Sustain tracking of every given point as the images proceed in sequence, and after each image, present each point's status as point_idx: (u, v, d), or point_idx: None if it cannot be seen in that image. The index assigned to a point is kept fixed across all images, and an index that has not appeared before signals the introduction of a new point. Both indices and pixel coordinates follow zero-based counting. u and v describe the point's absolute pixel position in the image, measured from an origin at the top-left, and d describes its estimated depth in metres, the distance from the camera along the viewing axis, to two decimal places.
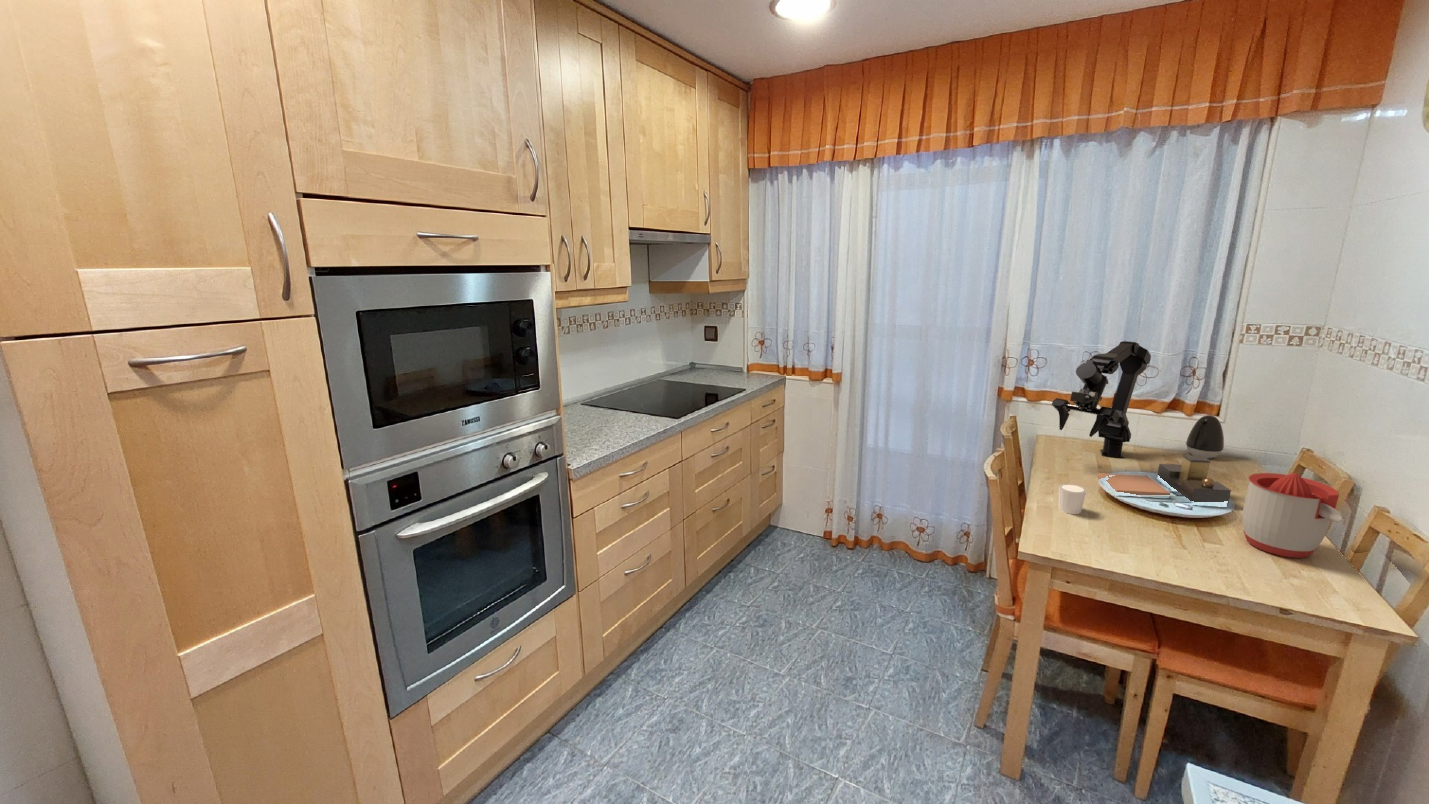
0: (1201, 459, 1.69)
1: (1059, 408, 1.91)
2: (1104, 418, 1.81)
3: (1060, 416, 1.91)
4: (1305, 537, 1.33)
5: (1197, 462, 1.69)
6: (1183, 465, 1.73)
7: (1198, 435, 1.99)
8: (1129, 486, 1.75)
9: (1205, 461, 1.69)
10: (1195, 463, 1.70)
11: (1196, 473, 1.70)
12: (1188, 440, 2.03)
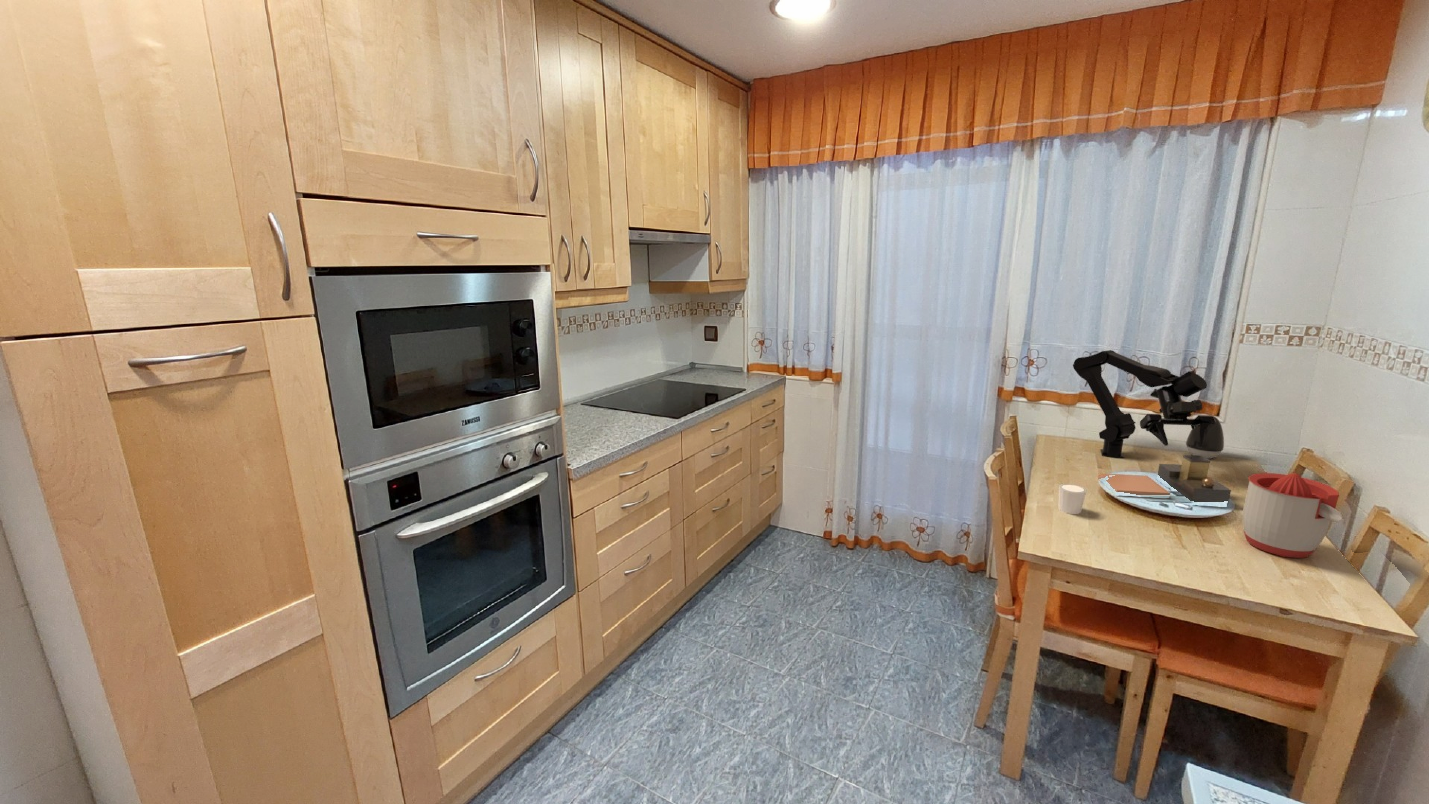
0: (1201, 459, 1.69)
1: (1159, 423, 1.80)
2: None
3: (1161, 431, 1.80)
4: (1305, 537, 1.33)
5: (1197, 462, 1.69)
6: (1183, 465, 1.73)
7: None
8: (1129, 486, 1.75)
9: (1205, 461, 1.69)
10: (1195, 463, 1.70)
11: (1196, 473, 1.70)
12: (1188, 440, 2.03)
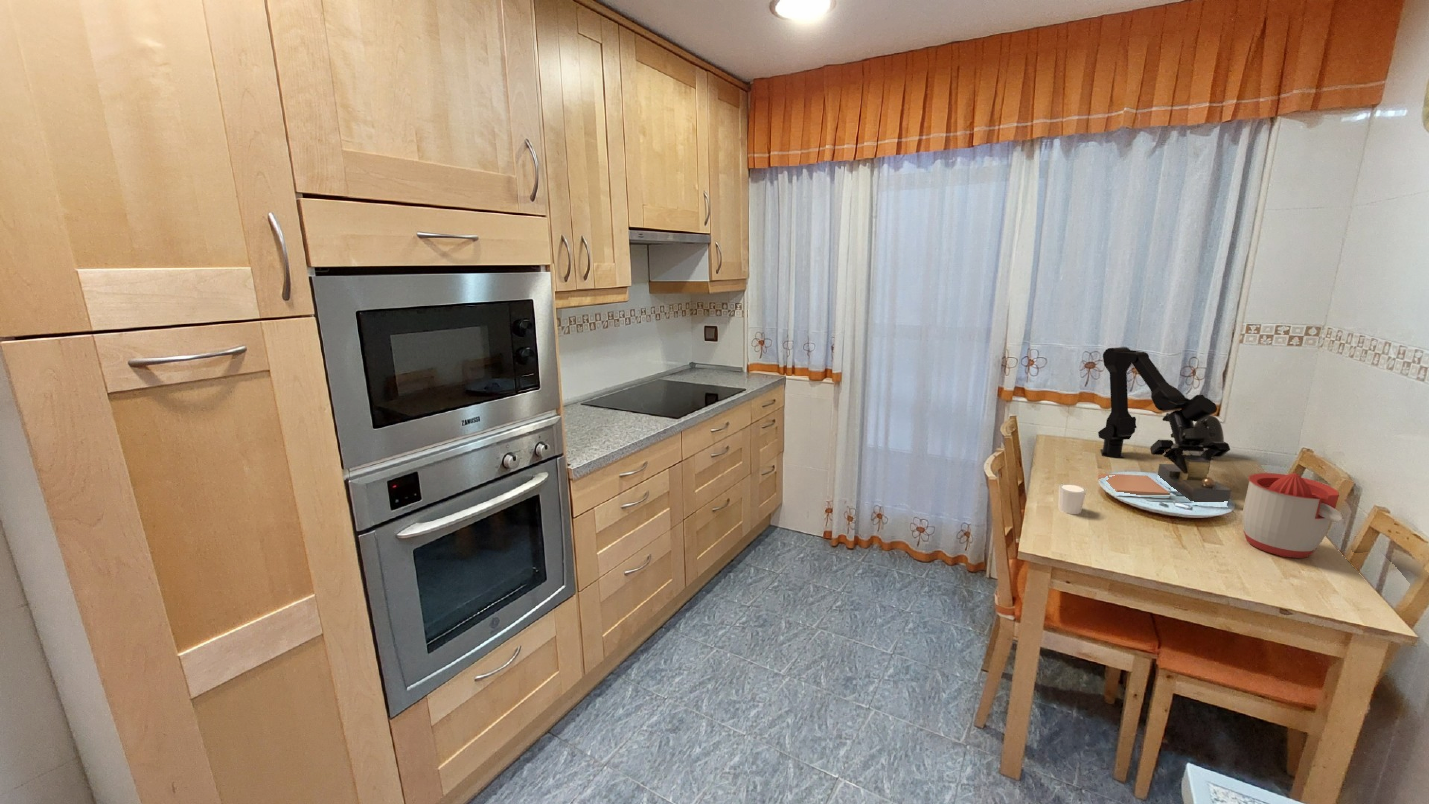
0: (1201, 459, 1.69)
1: (1178, 449, 1.73)
2: None
3: (1180, 458, 1.73)
4: (1305, 537, 1.33)
5: (1197, 462, 1.69)
6: None
7: None
8: (1129, 486, 1.75)
9: (1205, 461, 1.69)
10: (1195, 463, 1.70)
11: (1196, 473, 1.70)
12: None
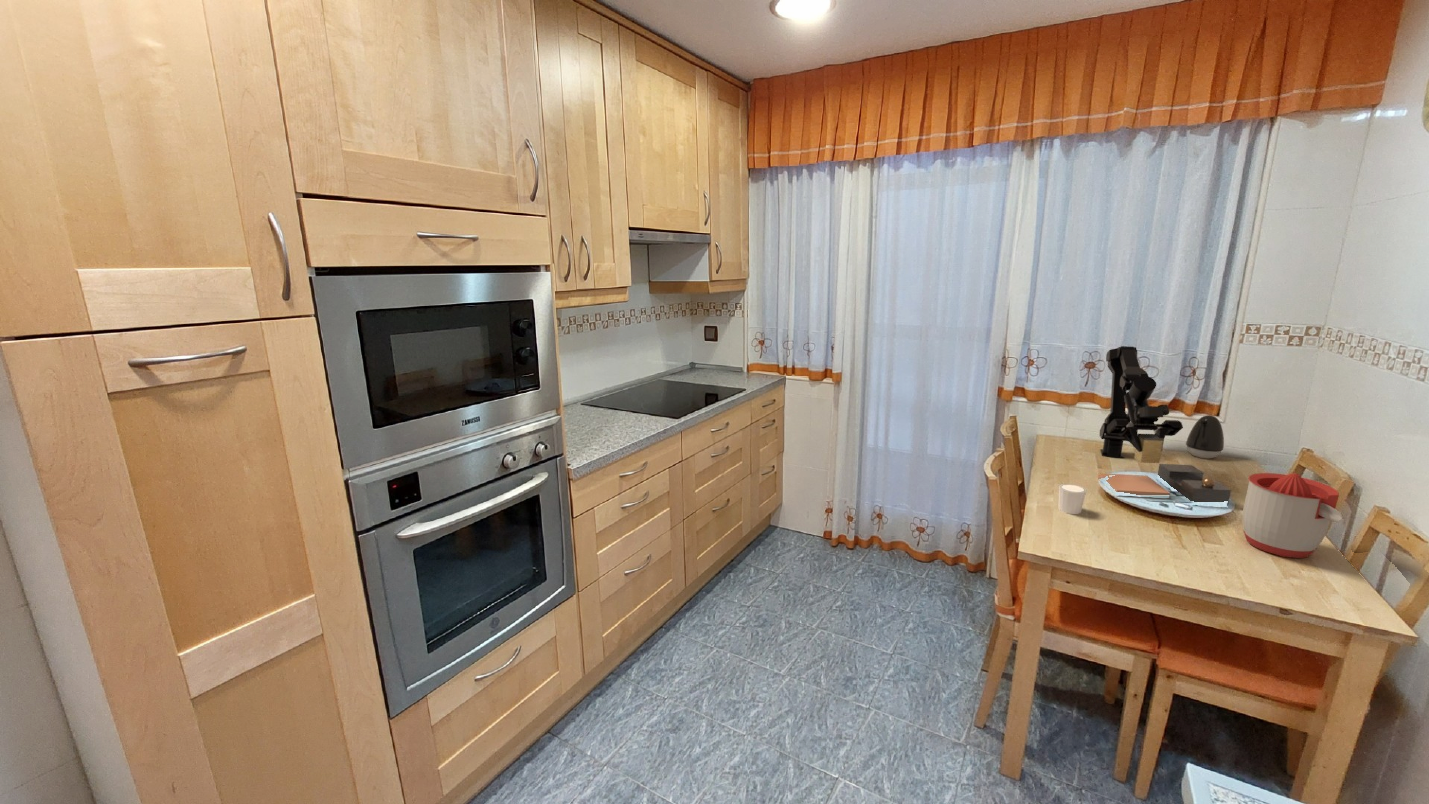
0: (1155, 437, 1.72)
1: (1133, 428, 1.75)
2: None
3: (1135, 437, 1.75)
4: (1305, 537, 1.33)
5: (1151, 440, 1.71)
6: None
7: (1198, 435, 1.99)
8: (1129, 486, 1.75)
9: (1159, 439, 1.71)
10: (1149, 441, 1.72)
11: (1151, 451, 1.72)
12: (1188, 440, 2.03)
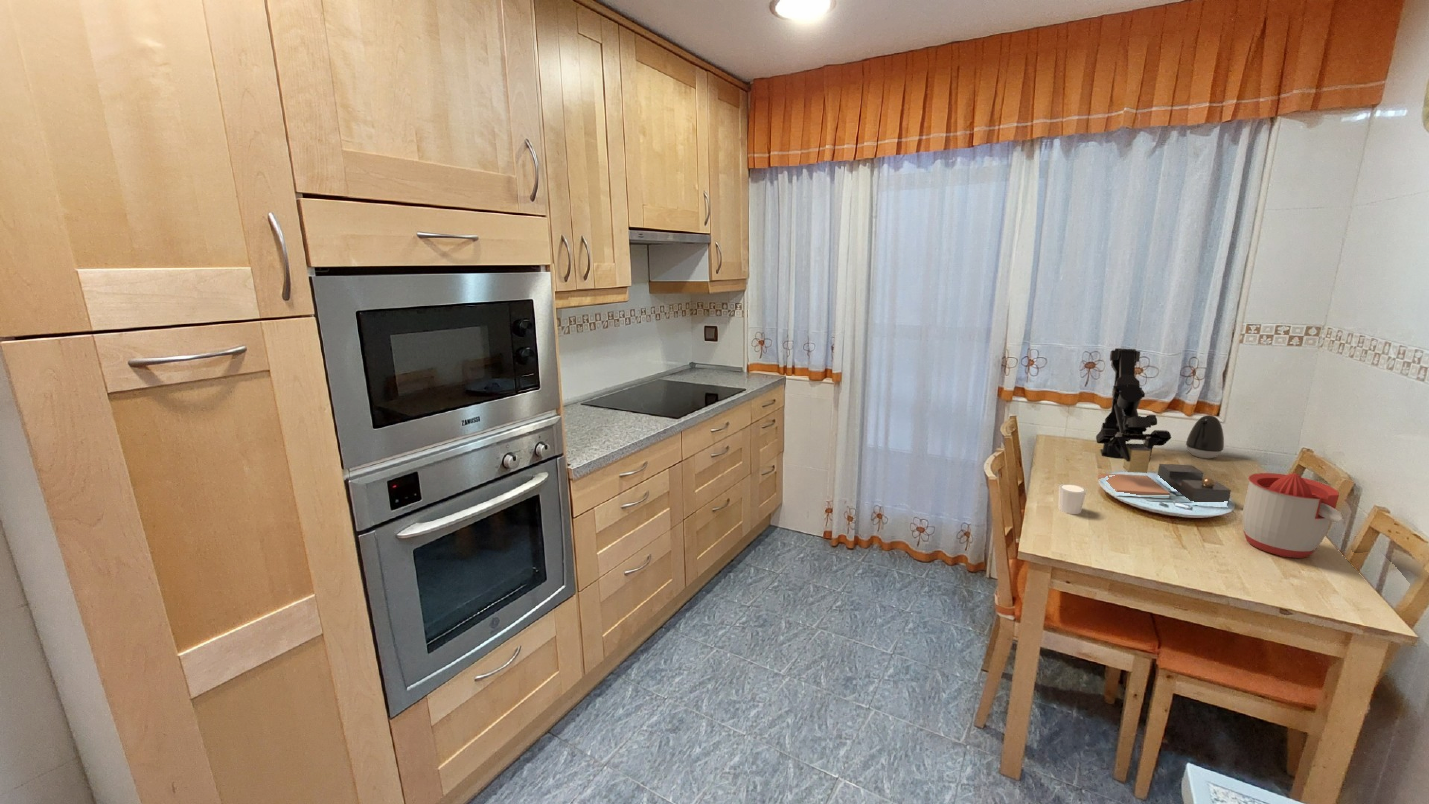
0: (1143, 447, 1.73)
1: (1121, 438, 1.77)
2: None
3: (1123, 447, 1.76)
4: (1305, 537, 1.33)
5: (1138, 450, 1.73)
6: None
7: (1198, 435, 1.99)
8: (1129, 486, 1.75)
9: (1146, 449, 1.72)
10: (1136, 451, 1.73)
11: (1138, 461, 1.74)
12: (1188, 440, 2.03)
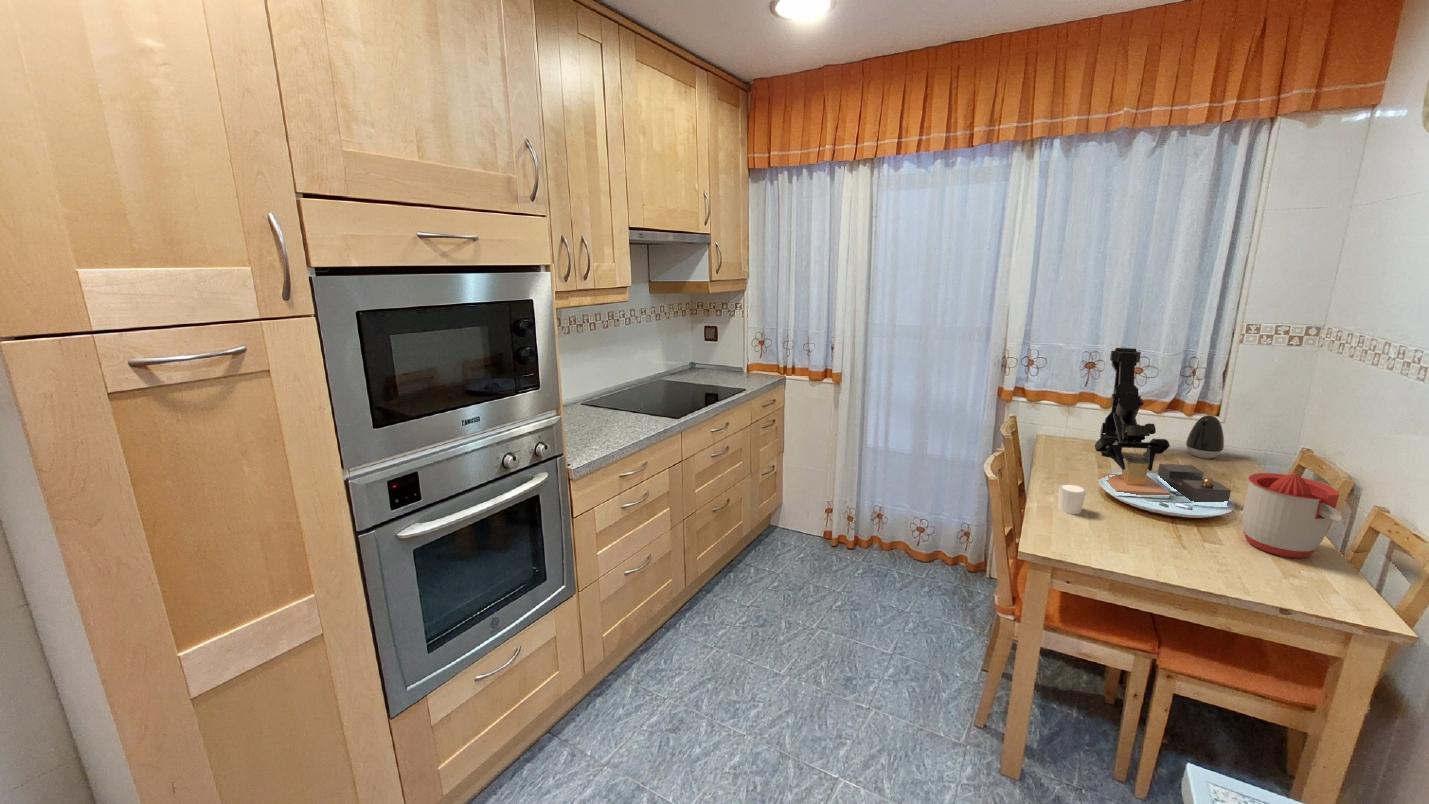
0: (1140, 460, 1.74)
1: (1116, 446, 1.77)
2: (1156, 450, 1.76)
3: (1119, 455, 1.77)
4: (1305, 537, 1.33)
5: (1136, 463, 1.74)
6: None
7: (1198, 435, 1.99)
8: (1129, 486, 1.75)
9: (1144, 462, 1.73)
10: (1134, 464, 1.74)
11: (1136, 474, 1.75)
12: (1188, 440, 2.03)
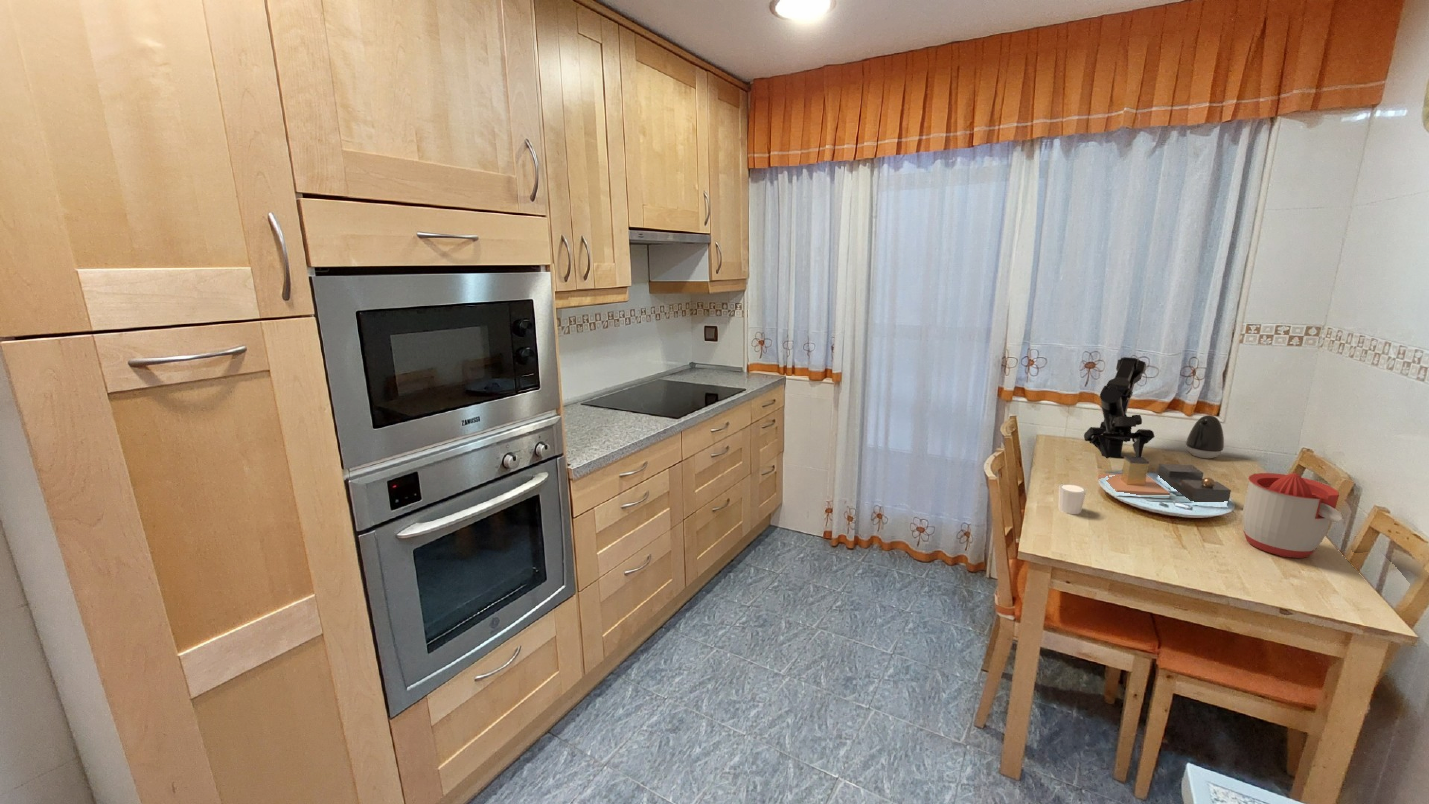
0: (1140, 460, 1.74)
1: (1101, 436, 1.86)
2: (1145, 440, 1.84)
3: (1103, 444, 1.86)
4: (1305, 537, 1.33)
5: (1136, 463, 1.74)
6: (1124, 466, 1.78)
7: (1198, 435, 1.99)
8: (1129, 486, 1.75)
9: (1144, 462, 1.73)
10: (1134, 464, 1.74)
11: (1136, 474, 1.75)
12: (1188, 440, 2.03)
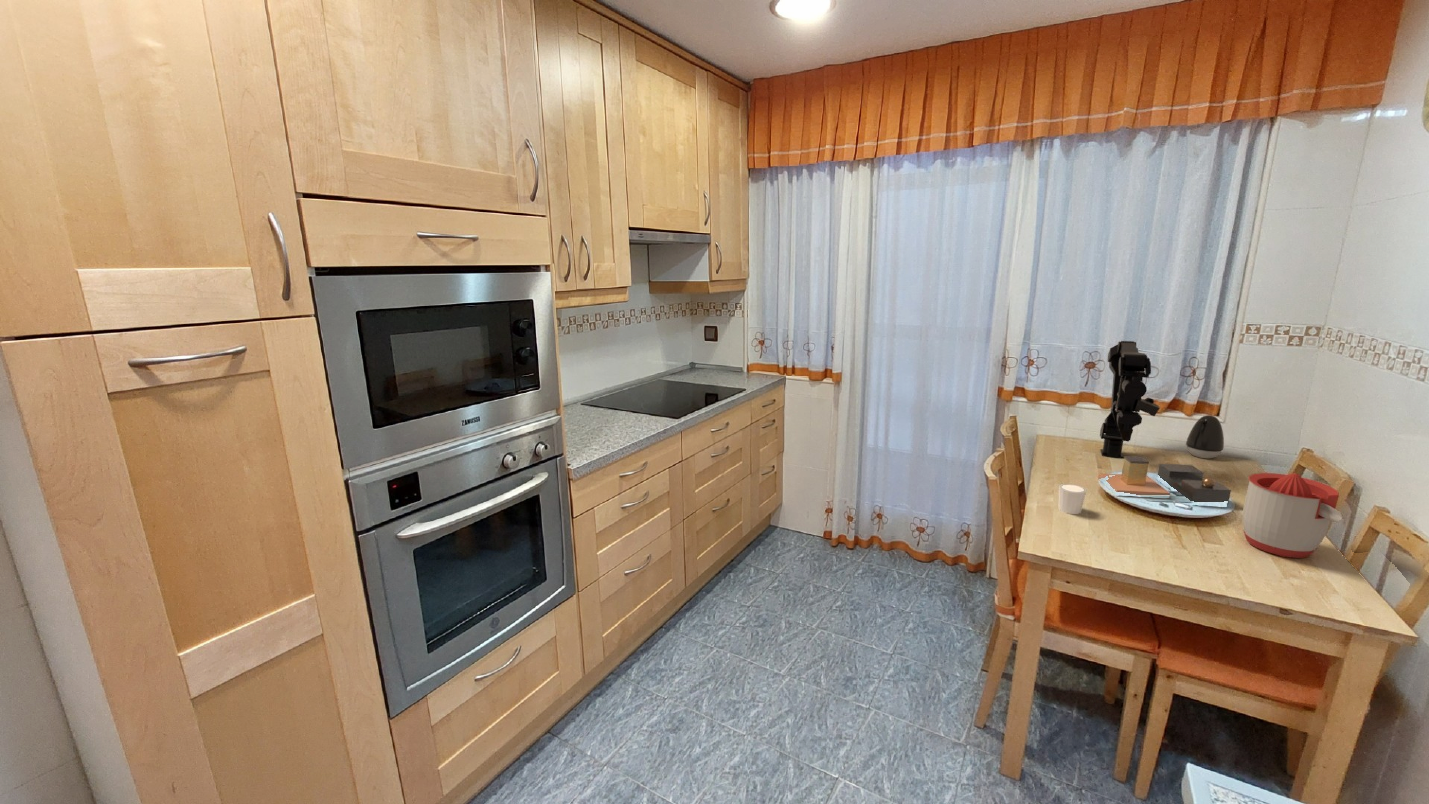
0: (1140, 460, 1.74)
1: None
2: None
3: None
4: (1305, 537, 1.33)
5: (1136, 463, 1.74)
6: (1124, 466, 1.78)
7: (1198, 434, 1.99)
8: (1129, 486, 1.75)
9: (1144, 462, 1.73)
10: (1134, 464, 1.74)
11: (1136, 474, 1.75)
12: (1188, 440, 2.03)
